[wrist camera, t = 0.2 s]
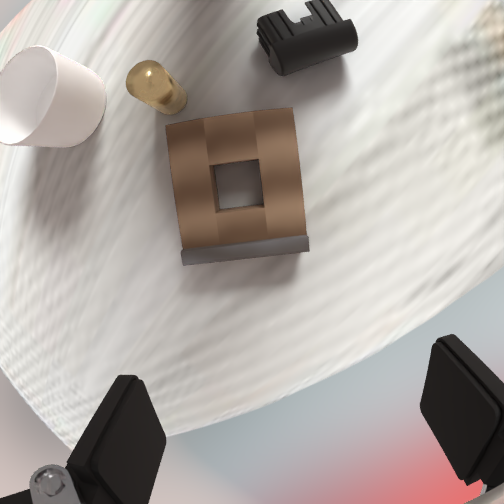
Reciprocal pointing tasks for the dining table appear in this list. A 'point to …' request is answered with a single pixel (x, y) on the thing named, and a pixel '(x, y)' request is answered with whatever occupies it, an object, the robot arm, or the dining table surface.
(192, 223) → the jig
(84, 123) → the cup
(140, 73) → the gold peg
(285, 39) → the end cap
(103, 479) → the robot arm
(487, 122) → the dining table surface
